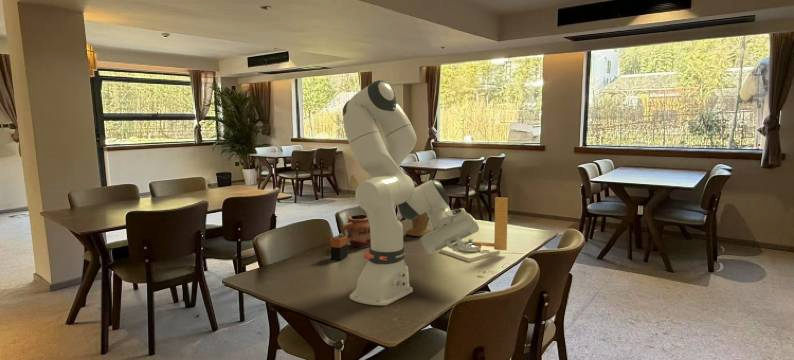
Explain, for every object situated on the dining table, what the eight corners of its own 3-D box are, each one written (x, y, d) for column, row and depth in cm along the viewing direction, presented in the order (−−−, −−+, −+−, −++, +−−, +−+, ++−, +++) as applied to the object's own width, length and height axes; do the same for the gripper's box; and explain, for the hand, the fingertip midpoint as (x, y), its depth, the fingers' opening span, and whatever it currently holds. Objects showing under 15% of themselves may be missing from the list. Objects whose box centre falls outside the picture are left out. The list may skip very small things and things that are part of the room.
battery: (348, 256, 194) (347, 233, 193) (339, 261, 188) (338, 237, 187) (339, 255, 196) (338, 232, 195) (330, 260, 190) (329, 236, 189)
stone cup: (424, 239, 221) (424, 208, 219) (402, 236, 227) (402, 206, 225) (437, 232, 234) (437, 203, 232) (416, 229, 240) (416, 201, 238)
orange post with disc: (455, 251, 194) (456, 198, 191) (459, 245, 204) (460, 194, 201) (505, 255, 188) (506, 200, 185) (507, 248, 198) (508, 196, 195)
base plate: (469, 262, 185) (469, 257, 185) (439, 251, 200) (439, 248, 200) (499, 253, 196) (499, 250, 196) (469, 244, 210) (469, 241, 210)
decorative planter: (353, 253, 198) (353, 222, 196) (334, 249, 206) (333, 218, 204) (383, 243, 214) (383, 214, 212) (364, 239, 221) (363, 211, 219)
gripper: (415, 231, 165) (425, 256, 153) (467, 205, 164) (481, 229, 152) (422, 242, 168) (432, 268, 157) (472, 218, 167) (486, 241, 156)
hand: (456, 248), depth 155 cm, fingers closed
